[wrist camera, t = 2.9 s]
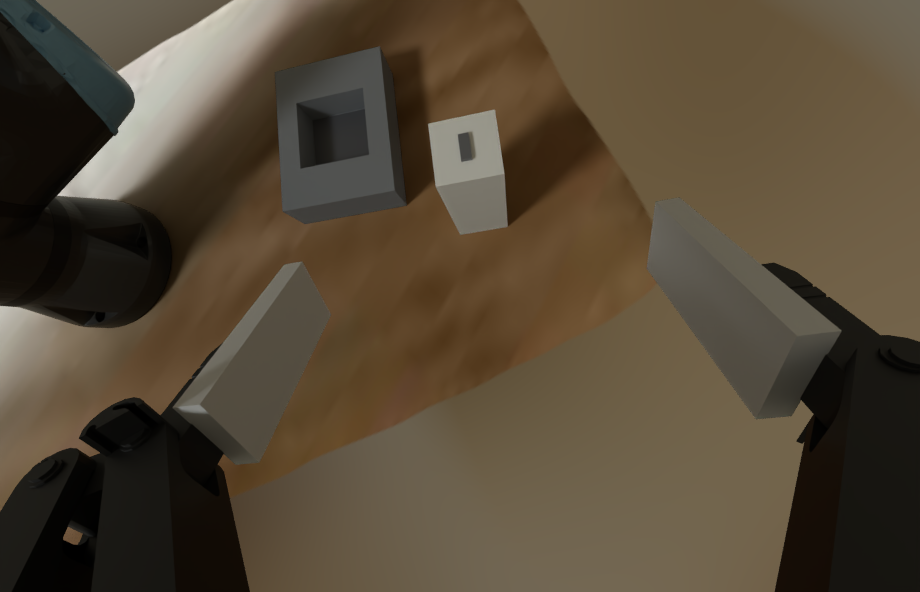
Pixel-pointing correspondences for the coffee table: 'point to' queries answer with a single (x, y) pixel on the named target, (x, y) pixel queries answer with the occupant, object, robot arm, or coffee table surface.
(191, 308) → the coffee table surface
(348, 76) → the block
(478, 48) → the coffee table surface
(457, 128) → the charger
